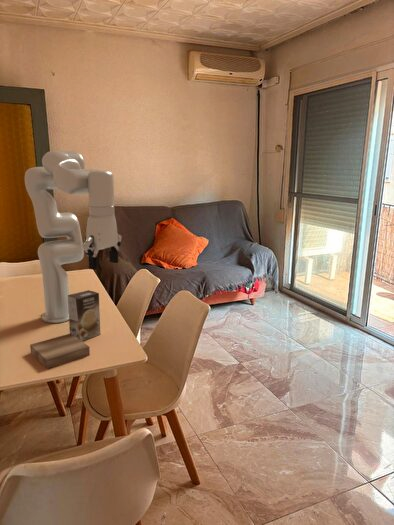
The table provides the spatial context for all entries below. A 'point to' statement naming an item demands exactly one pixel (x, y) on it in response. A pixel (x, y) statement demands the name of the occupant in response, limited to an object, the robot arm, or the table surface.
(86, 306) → the coffee box
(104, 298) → the table surface
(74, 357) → the brownish grey square block
